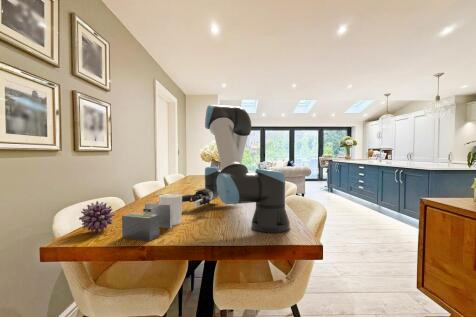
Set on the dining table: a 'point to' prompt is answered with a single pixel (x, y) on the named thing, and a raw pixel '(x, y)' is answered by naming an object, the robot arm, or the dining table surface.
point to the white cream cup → (173, 206)
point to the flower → (96, 216)
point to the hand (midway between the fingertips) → (182, 203)
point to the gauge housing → (140, 226)
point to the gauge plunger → (160, 213)
